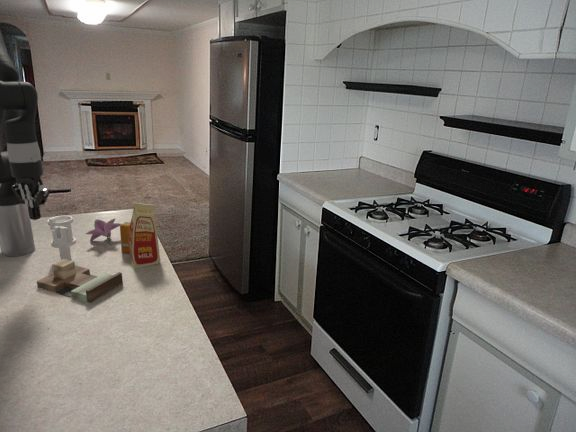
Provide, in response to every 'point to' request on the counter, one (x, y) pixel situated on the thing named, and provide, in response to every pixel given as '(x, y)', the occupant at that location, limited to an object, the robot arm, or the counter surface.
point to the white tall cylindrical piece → (62, 235)
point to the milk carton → (143, 236)
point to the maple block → (64, 269)
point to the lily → (103, 229)
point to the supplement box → (125, 237)
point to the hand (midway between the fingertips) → (35, 218)
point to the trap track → (82, 284)
